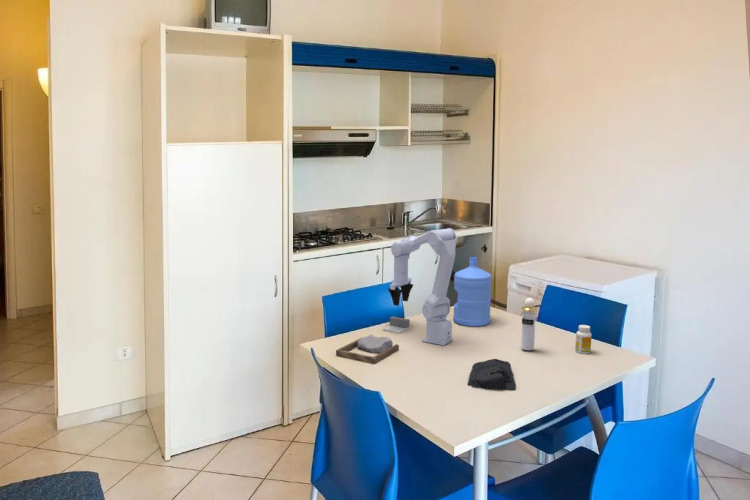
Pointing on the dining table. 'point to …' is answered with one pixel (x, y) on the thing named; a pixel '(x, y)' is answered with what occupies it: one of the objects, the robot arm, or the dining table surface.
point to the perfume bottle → (528, 324)
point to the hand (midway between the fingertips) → (400, 303)
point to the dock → (344, 353)
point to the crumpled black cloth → (492, 375)
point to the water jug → (472, 296)
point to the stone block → (375, 344)
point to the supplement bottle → (583, 339)
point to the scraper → (397, 325)
